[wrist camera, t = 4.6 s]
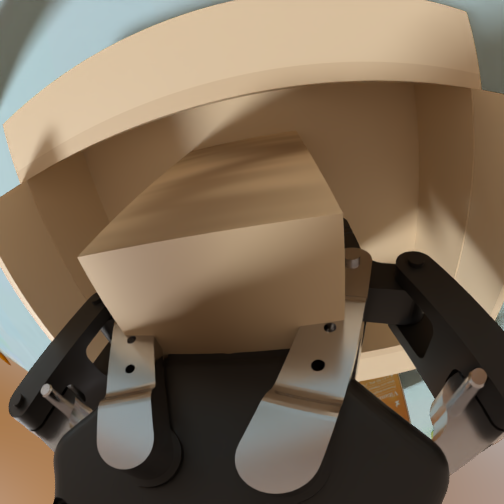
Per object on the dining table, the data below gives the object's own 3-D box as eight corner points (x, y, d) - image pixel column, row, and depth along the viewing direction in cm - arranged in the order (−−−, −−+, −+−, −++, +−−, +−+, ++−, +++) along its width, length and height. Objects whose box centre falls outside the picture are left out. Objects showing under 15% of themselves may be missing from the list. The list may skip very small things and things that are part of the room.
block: (295, 130, 11) (342, 213, 4) (314, 272, 16) (336, 422, 8) (190, 151, 12) (77, 257, 5) (230, 283, 16) (202, 427, 9)
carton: (408, 28, 8) (521, 3, 1) (407, 310, 17) (442, 404, 11) (65, 106, 11) (-47, 146, 4) (166, 337, 21) (137, 425, 14)
